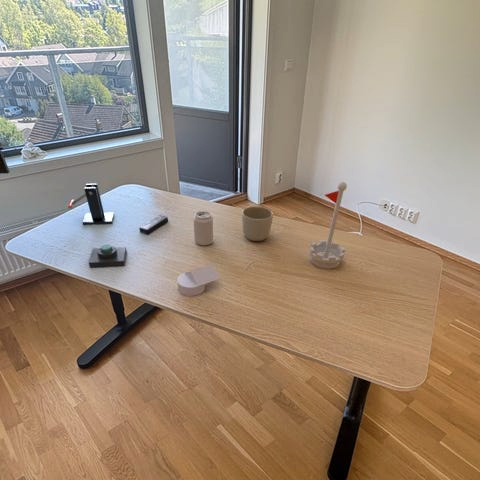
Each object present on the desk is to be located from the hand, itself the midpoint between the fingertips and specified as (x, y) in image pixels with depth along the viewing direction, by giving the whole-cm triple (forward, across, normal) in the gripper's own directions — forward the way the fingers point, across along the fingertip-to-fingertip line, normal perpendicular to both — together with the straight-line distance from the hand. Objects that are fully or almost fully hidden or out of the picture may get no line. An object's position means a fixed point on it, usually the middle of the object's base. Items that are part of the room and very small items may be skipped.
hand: (4, 172), depth 112 cm
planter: (+29, +2, -86) cm, 91 cm away
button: (+25, -10, -28) cm, 39 cm away
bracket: (+28, +24, -20) cm, 42 cm away
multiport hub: (+29, +15, -44) cm, 55 cm away
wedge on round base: (+29, -30, -59) cm, 72 cm away
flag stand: (+29, -19, -109) cm, 114 cm away
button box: (+28, -10, -28) cm, 41 cm away
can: (+29, 0, -64) cm, 70 cm away
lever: (+19, +24, -16) cm, 35 cm away
